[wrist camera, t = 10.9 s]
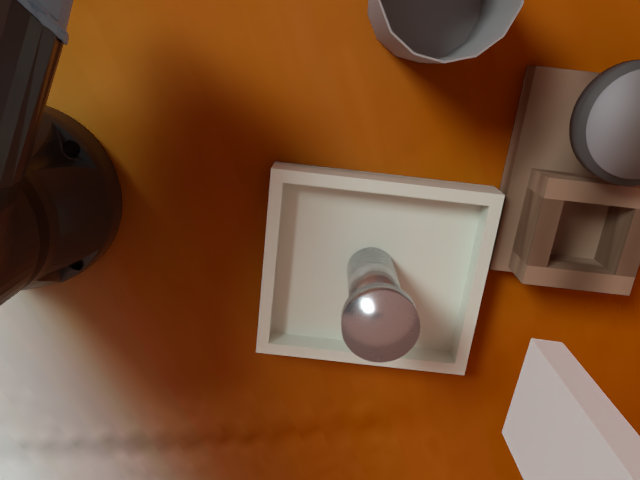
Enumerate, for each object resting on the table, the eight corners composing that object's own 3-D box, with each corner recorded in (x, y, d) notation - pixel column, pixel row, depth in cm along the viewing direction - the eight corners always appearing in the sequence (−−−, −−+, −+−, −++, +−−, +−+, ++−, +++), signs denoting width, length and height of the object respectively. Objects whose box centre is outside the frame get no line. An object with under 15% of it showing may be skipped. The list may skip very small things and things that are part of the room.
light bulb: (336, 294, 46) (337, 358, 36) (343, 237, 45) (346, 287, 35) (396, 300, 46) (413, 366, 36) (405, 243, 45) (426, 296, 35)
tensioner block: (483, 260, 46) (513, 300, 38) (530, 51, 41) (575, 49, 33) (610, 275, 46) (665, 317, 38) (673, 68, 41) (751, 70, 33)
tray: (260, 335, 49) (255, 352, 46) (275, 161, 44) (270, 168, 41) (456, 357, 49) (464, 375, 46) (494, 186, 44) (505, 194, 41)
